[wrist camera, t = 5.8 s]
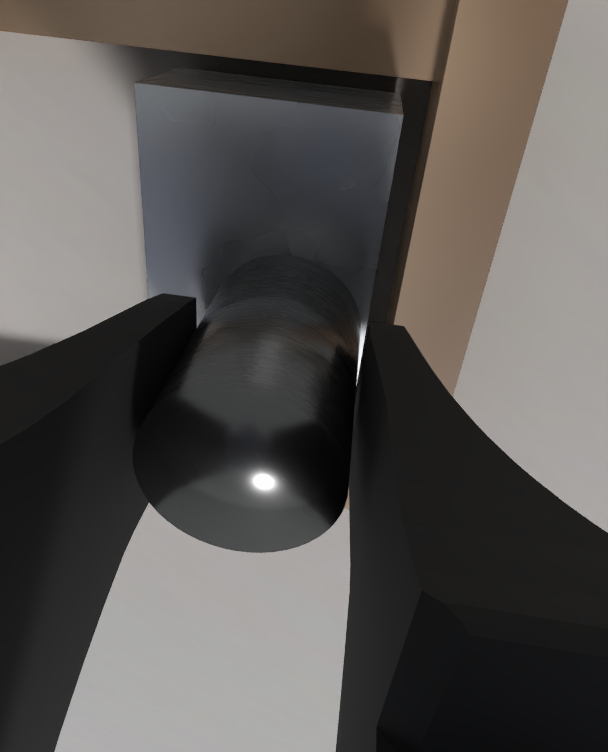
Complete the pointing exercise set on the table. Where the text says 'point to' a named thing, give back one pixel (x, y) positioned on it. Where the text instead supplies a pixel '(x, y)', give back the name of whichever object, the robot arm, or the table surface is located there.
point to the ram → (260, 295)
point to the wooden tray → (389, 58)
